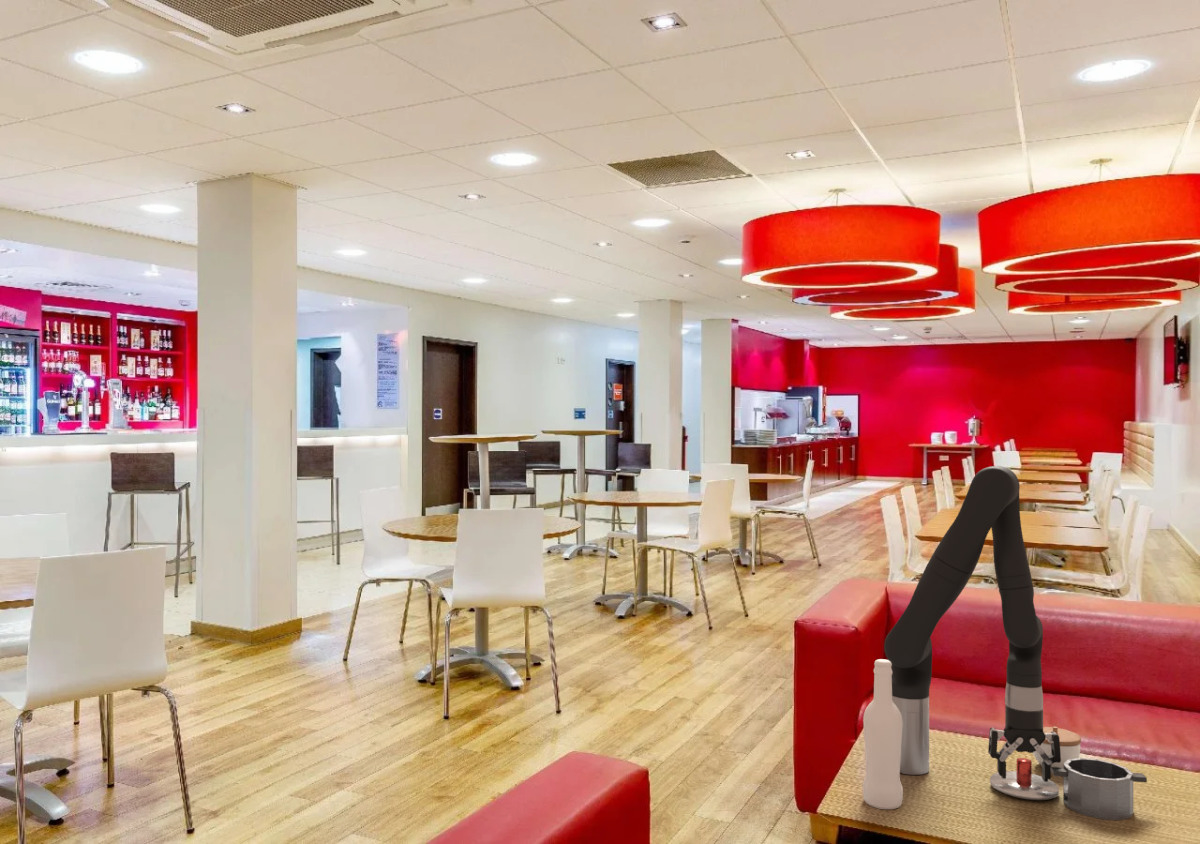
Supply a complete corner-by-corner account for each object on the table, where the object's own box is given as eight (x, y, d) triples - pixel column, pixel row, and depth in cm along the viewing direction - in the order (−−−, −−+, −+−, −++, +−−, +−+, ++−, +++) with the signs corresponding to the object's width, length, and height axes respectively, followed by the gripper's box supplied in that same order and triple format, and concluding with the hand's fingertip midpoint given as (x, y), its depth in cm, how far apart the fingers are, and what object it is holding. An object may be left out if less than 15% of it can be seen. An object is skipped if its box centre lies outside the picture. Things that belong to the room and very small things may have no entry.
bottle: (882, 813, 188) (882, 666, 188) (854, 799, 195) (854, 658, 195) (911, 806, 191) (911, 662, 192) (882, 792, 199) (883, 654, 199)
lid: (997, 801, 195) (997, 769, 195) (984, 776, 208) (984, 747, 208) (1066, 807, 192) (1066, 775, 192) (1048, 781, 205) (1049, 751, 205)
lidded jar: (1069, 760, 219) (1069, 720, 219) (1089, 776, 209) (1089, 735, 209) (1023, 758, 220) (1023, 719, 220) (1040, 774, 210) (1040, 733, 210)
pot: (1060, 815, 187) (1060, 776, 187) (1043, 792, 199) (1043, 755, 199) (1156, 823, 184) (1156, 783, 184) (1133, 799, 196) (1133, 761, 196)
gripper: (993, 707, 198) (993, 782, 198) (1064, 711, 195) (1064, 788, 195) (985, 697, 205) (985, 770, 205) (1054, 701, 202) (1054, 775, 202)
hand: (1024, 778), depth 200 cm, fingers open, 8 cm apart
